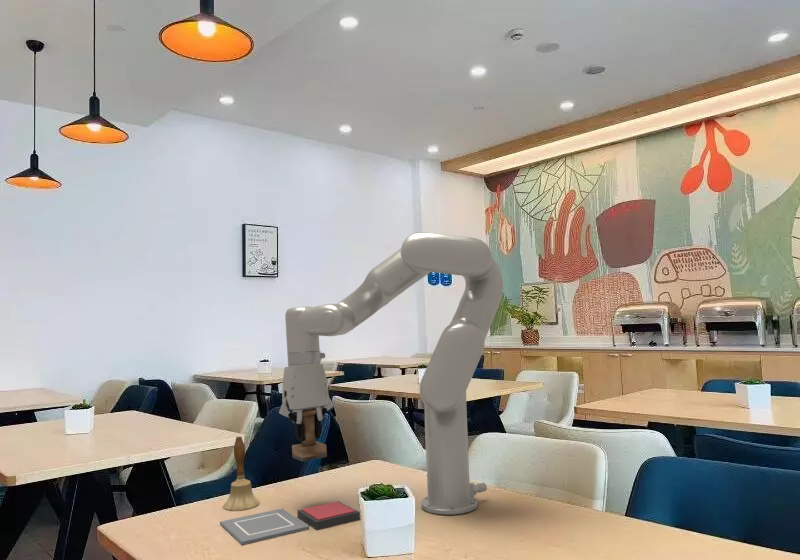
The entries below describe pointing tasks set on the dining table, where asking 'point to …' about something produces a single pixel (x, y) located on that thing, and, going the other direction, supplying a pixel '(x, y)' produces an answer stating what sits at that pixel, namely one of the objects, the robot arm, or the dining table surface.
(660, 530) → the dining table surface
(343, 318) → the robot arm
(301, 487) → the dining table surface
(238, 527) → the board
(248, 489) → the hand bell
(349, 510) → the ink pad
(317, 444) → the stamp
